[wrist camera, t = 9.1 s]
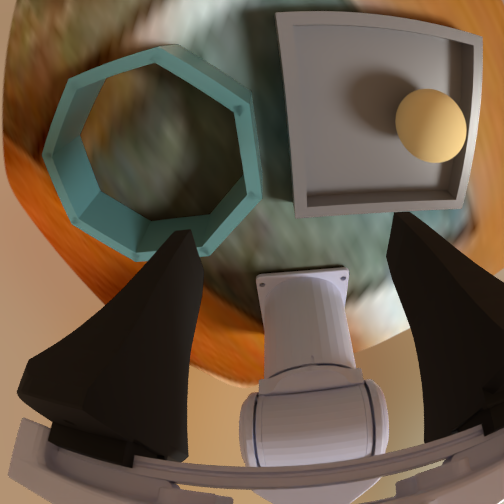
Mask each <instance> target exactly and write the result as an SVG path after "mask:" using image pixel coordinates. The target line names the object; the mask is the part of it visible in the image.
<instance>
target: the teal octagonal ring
mask: <svg viewBox="0 0 504 504" xmlns="http://www.w3.org/2000/svg"><path fill="white" fill-rule="evenodd" d="M152 63H156V64H158V65H160V66H161V67H163V68H165V69H167V70H168V71H170V72H172V73H173V74H175V75H177V76H178V77H180V78H182V79H183V80H185V81H187V82H188V83H190V84H191V85H193V86H195V87H196V88H198V89H199V90H201V91H202V92H204V93H206V94H207V95H209V96H210V97H212V98H213V99H215V100H216V101H218V102H219V103H221V104H222V105H224V106H225V107H227V108H228V109H230V110H231V111H233V112H234V116H235V122H236V128H237V135H238V141H239V147H240V153H241V159H242V166H243V172H244V174H243V175H242V177H241V178H240V179H239V180H238V181H237V182H236V184H235V185H234V186H233V187H232V188H231V190H230V191H229V192H228V193H227V194H226V196H225V197H224V198H223V199H222V200H221V202H220V203H219V204H218V205H217V206H216V208H215V209H214V210H213V211H212V212H211V214H208V215H199V216H190V217H182V218H174V219H165V220H157V221H150V220H148V219H146V218H145V217H143V216H141V215H140V214H138V213H136V212H135V211H133V210H131V209H130V208H128V207H126V206H125V205H123V204H121V203H120V202H118V201H116V200H115V199H113V198H111V197H110V196H108V195H106V194H105V193H103V192H101V191H100V189H99V186H98V184H97V181H96V179H95V176H94V173H93V171H92V168H91V165H90V162H89V160H88V157H87V154H86V151H85V148H84V145H83V142H82V139H81V136H80V134H81V131H82V129H83V127H84V124H85V122H86V120H87V117H88V115H89V113H90V111H91V108H92V106H93V104H94V102H95V100H96V98H97V96H98V94H99V92H100V90H101V88H102V86H103V84H104V82H105V80H106V78H108V77H111V76H113V75H116V74H119V73H122V72H125V71H129V70H132V69H135V68H138V67H142V66H145V65H149V64H152ZM42 157H43V160H44V162H45V165H46V167H47V170H48V172H49V175H50V177H51V180H52V182H53V184H54V187H55V189H56V191H57V193H58V196H59V198H60V200H61V202H62V205H63V207H64V209H65V211H66V213H67V215H68V217H69V219H70V221H71V223H72V225H74V226H76V227H77V228H79V229H81V230H82V231H84V232H85V233H87V234H89V235H90V236H92V237H94V238H95V239H97V240H99V241H100V242H102V243H104V244H106V245H107V246H109V247H111V248H112V249H114V250H116V251H118V252H119V253H121V254H123V255H125V256H126V257H128V258H130V259H132V260H133V261H135V262H141V261H148V260H149V259H150V258H151V257H152V256H153V255H154V254H155V252H156V251H157V250H158V249H159V248H160V247H161V245H162V244H163V243H164V242H165V241H166V240H167V239H168V237H169V236H170V235H171V234H172V233H173V232H174V231H177V230H186V229H191V231H192V234H193V238H194V241H195V244H196V247H197V250H198V254H199V257H202V256H210V255H211V254H212V253H213V252H214V250H215V249H216V248H217V247H218V246H219V245H220V244H221V243H222V242H223V241H224V239H225V238H226V237H227V236H228V235H229V234H230V233H231V232H232V231H233V230H234V228H235V227H236V226H237V225H238V224H239V223H240V222H241V221H242V220H243V219H244V218H245V217H246V215H247V214H248V213H249V212H250V211H251V210H252V209H253V208H254V207H255V206H256V205H257V204H258V202H259V201H260V200H261V199H262V166H261V158H260V150H259V143H258V135H257V128H256V120H255V113H254V106H253V99H252V91H250V90H249V89H247V88H246V87H244V86H243V85H241V84H240V83H238V82H237V81H236V80H234V79H233V78H231V77H230V76H228V75H227V74H225V73H224V72H222V71H221V70H219V69H217V68H216V67H214V66H213V65H211V64H210V63H208V62H206V61H205V60H203V59H202V58H200V57H198V56H197V55H195V54H193V53H192V52H190V51H188V50H187V49H185V48H183V47H182V46H180V45H178V44H176V45H166V46H158V47H155V48H152V49H148V50H145V51H142V52H138V53H135V54H132V55H129V56H126V57H123V58H120V59H117V60H114V61H112V62H109V63H106V64H104V65H101V66H98V67H96V68H93V69H91V70H88V71H86V72H84V73H81V74H79V75H77V76H74V77H72V78H69V80H68V82H67V84H66V87H65V89H64V92H63V94H62V97H61V99H60V102H59V104H58V107H57V110H56V112H55V115H54V118H53V121H52V124H51V127H50V130H49V133H48V136H47V139H46V142H45V146H44V149H43V153H42Z"/></svg>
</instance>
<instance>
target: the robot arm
mask: <svg viewBox="0 0 504 504" xmlns="http://www.w3.org/2000/svg"><path fill="white" fill-rule="evenodd" d="M386 258H387V262H388V265H389V269H390V273H391V277H392V280H393V283H394V285H395V288H396V290H397V293H398V296H399V298H400V301H401V303H402V306H403V309H404V311H405V314H406V317H407V320H408V322H409V325H410V328H411V331H412V334H413V337H414V342H415V347H416V351H417V356H418V361H419V368H420V375H421V381H422V390H423V403H424V443H425V444H422V445H418V446H414V447H410V448H407V449H402V450H398V451H394V452H389V453H385V450H386V447H387V444H388V437H389V420H388V411H387V405H386V401H385V397H384V394H383V392H382V389H381V388H380V386H378V385H377V384H376V383H375V382H374V381H373V380H372V379H368V380H363V375H362V370H361V368H356V365H355V360H354V354H353V349H352V343H351V338H350V333H349V328H348V324H347V319H346V314H345V310H344V308H345V301H346V294H347V287H348V279H349V270H348V269H347V268H346V267H341V268H329V269H318V270H306V271H294V272H281V273H268V274H259V275H257V277H256V285H257V290H258V296H259V302H260V308H261V314H262V319H263V325H264V331H265V351H264V379H261V380H259V392H255V393H251V394H250V395H249V396H248V398H247V399H246V400H245V401H244V402H243V404H242V407H241V412H240V420H239V441H240V448H241V454H242V458H243V460H244V463H245V465H246V467H235V466H215V465H201V464H191V463H182V462H183V461H184V460H185V459H186V458H187V457H188V438H187V394H188V374H189V362H190V353H191V347H192V342H193V337H194V332H195V327H196V323H197V318H198V313H199V308H200V304H201V299H202V291H203V279H204V269H203V266H202V263H201V260H200V257H199V254H198V250H197V247H196V244H195V241H194V238H193V234H192V231H191V229H186V230H177V231H174V232H173V233H172V234H171V235H170V236H169V237H168V239H167V240H166V241H165V242H164V243H163V244H162V245H161V247H160V248H159V249H158V250H157V251H156V252H155V254H154V255H153V256H152V257H151V258H150V259H149V260H148V262H147V263H146V264H145V265H144V266H143V267H142V269H141V270H140V271H139V272H138V273H137V274H136V275H135V276H134V277H133V278H132V279H131V280H130V281H129V282H128V284H127V285H126V286H125V287H124V288H123V289H122V290H121V291H120V292H119V293H118V294H117V295H116V296H115V297H114V298H113V299H112V300H111V301H109V302H108V303H107V304H106V305H105V306H104V307H103V308H102V309H101V310H100V311H98V312H97V313H96V314H95V315H94V316H92V317H91V318H90V319H89V320H87V321H86V322H85V323H84V324H83V325H81V326H80V327H79V328H77V329H76V330H75V331H73V332H72V333H71V334H69V335H68V336H66V337H65V338H63V339H62V340H61V341H59V342H57V343H56V344H54V345H53V346H51V347H50V348H48V349H46V350H45V351H43V352H41V353H40V354H38V355H36V356H34V357H33V358H31V359H29V361H28V363H27V365H26V368H25V371H24V373H23V376H22V379H21V381H20V384H19V387H18V390H17V394H18V396H19V398H20V399H21V400H22V401H23V402H24V403H26V404H27V405H28V406H30V407H31V408H32V409H34V410H35V411H37V412H38V413H40V414H41V415H43V416H44V417H46V418H47V419H49V420H50V421H52V422H53V423H52V426H51V429H50V428H48V427H46V426H44V425H41V424H39V423H36V422H34V421H31V420H29V419H26V418H22V420H21V423H20V427H19V431H18V434H17V438H16V442H15V445H14V450H13V454H12V458H11V463H10V468H9V472H8V476H9V477H10V478H11V479H13V480H14V481H16V482H18V483H19V484H21V485H23V486H24V487H26V488H28V489H29V490H31V491H33V492H34V493H36V494H37V495H39V496H41V497H42V498H44V499H46V500H47V501H49V502H51V503H52V504H233V499H232V498H231V497H224V496H218V495H215V494H211V493H203V492H196V491H189V490H182V489H180V487H179V486H178V485H177V484H184V485H192V486H200V487H210V488H224V489H246V490H248V489H249V490H252V491H253V492H254V493H256V494H257V495H259V496H261V497H262V498H264V499H266V500H268V501H269V502H271V503H273V504H350V503H352V502H353V501H354V500H355V499H357V498H358V497H359V496H360V495H362V494H363V493H364V492H366V491H367V490H368V489H369V488H371V487H372V486H373V485H374V484H375V483H376V482H378V481H379V480H380V478H381V477H384V476H388V475H393V474H397V473H400V472H404V471H408V470H412V469H416V468H419V467H423V466H426V465H429V464H432V463H435V462H438V461H441V460H444V459H446V460H445V461H444V462H443V464H442V465H441V466H439V467H436V468H433V469H430V470H427V471H424V472H421V473H419V474H416V475H415V476H412V477H410V478H407V479H404V480H401V481H398V482H397V483H396V496H394V497H390V498H386V499H381V500H377V501H371V502H367V503H361V504H500V503H502V502H503V501H504V282H502V281H500V280H499V279H497V278H496V277H494V276H493V275H491V274H490V273H489V272H487V271H486V270H484V269H483V268H481V267H480V266H479V265H477V264H476V263H474V262H473V261H472V260H471V259H469V258H468V257H467V256H465V255H464V254H463V253H461V252H460V251H459V250H458V249H456V248H455V247H454V246H453V245H451V244H450V243H449V242H448V241H446V240H445V239H444V238H443V237H441V236H440V235H439V234H438V233H437V232H435V231H434V230H433V229H432V228H430V227H429V226H428V225H427V224H425V223H424V222H423V221H421V220H420V219H419V218H417V217H416V216H415V215H413V214H412V213H410V212H394V216H393V222H392V228H391V233H390V239H389V244H388V249H387V254H386ZM343 276H344V277H343ZM261 283H264V284H261ZM175 483H176V484H175Z"/></svg>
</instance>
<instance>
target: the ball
mask: <svg viewBox="0 0 504 504" xmlns="http://www.w3.org/2000/svg"><path fill="white" fill-rule="evenodd" d="M395 124H396V130H397V134H398V136H399V139H400V141H401V142H402V144H403V145H404V147H405V148H406V149H407V150H408V151H409V152H410V153H411V154H412V155H413V156H415V157H416V158H418V159H420V160H423V161H425V162H430V163H441V162H445V161H448V160H450V159H452V158H453V157H454V156H456V155H457V154H458V153H459V151H460V150H461V149H462V147H463V145H464V142H465V139H466V122H465V118H464V115H463V113H462V111H461V109H460V108H459V106H458V105H457V104H456V102H455V101H454V100H453V99H452V98H450V97H449V96H448V95H446V94H444V93H442V92H440V91H438V90H434V89H419V90H416V91H413V92H411V93H410V94H408V95H407V96H406V97H405V98H404V99H403V100H402V101H401V103H400V105H399V106H398V109H397V112H396V119H395Z"/></svg>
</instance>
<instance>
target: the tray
mask: <svg viewBox="0 0 504 504" xmlns="http://www.w3.org/2000/svg"><path fill="white" fill-rule="evenodd" d="M274 20H275V27H276V34H277V42H278V50H279V58H280V66H281V75H282V83H283V93H284V102H285V112H286V122H287V133H288V144H289V156H290V168H291V182H292V196H293V206H294V212H295V218H308V217H321V216H335V215H350V214H365V213H381V212H399V211H419V210H441V209H462V206H463V202H464V198H465V194H466V190H467V185H468V181H469V176H470V171H471V166H472V161H473V156H474V150H475V144H476V137H477V130H478V122H479V114H480V103H481V90H482V69H483V40H482V37H481V36H478V35H475V34H472V33H468V32H465V31H461V30H458V29H454V28H450V27H446V26H442V25H438V24H433V23H429V22H424V21H419V20H413V19H407V18H401V17H394V16H387V15H378V14H369V13H356V12H338V11H296V12H277V13H275V14H274ZM419 89H434V90H438V91H440V92H442V93H444V94H446V95H448V96H449V97H450V98H452V99H453V100H454V101H455V102H456V104H457V105H458V106H459V108H460V109H461V111H462V113H463V115H464V118H465V122H466V139H465V142H464V145H463V147H462V149H461V150H460V151H459V153H458V154H457V155H456V156H454V157H453V158H452V159H450V160H448V161H445V162H441V163H430V162H425V161H423V160H420V159H418V158H416V157H415V156H413V155H412V154H411V153H410V152H409V151H408V150H407V149H406V148H405V147H404V145H403V144H402V142H401V141H400V139H399V136H398V134H397V130H396V124H395V119H396V112H397V109H398V106H399V105H400V103H401V101H402V100H403V99H404V98H405V97H406V96H407V95H408V94H410V93H411V92H413V91H416V90H419Z"/></svg>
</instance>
